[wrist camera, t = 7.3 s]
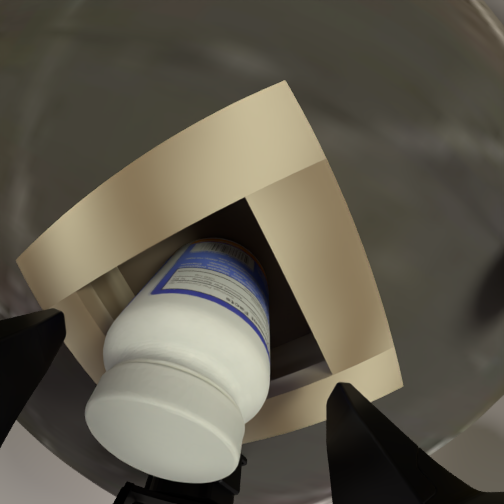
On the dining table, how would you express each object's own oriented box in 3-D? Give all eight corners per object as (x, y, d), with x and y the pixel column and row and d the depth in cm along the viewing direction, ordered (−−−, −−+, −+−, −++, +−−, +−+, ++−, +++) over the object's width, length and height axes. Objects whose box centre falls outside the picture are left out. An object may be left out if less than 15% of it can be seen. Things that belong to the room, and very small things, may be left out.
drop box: (189, 385, 17) (168, 455, 12) (85, 227, 14) (15, 260, 9) (364, 318, 15) (403, 386, 10) (275, 116, 13) (285, 80, 7)
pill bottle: (204, 343, 16) (158, 496, 7) (146, 267, 14) (31, 395, 5) (289, 302, 15) (309, 477, 5) (232, 212, 13) (160, 337, 4)
